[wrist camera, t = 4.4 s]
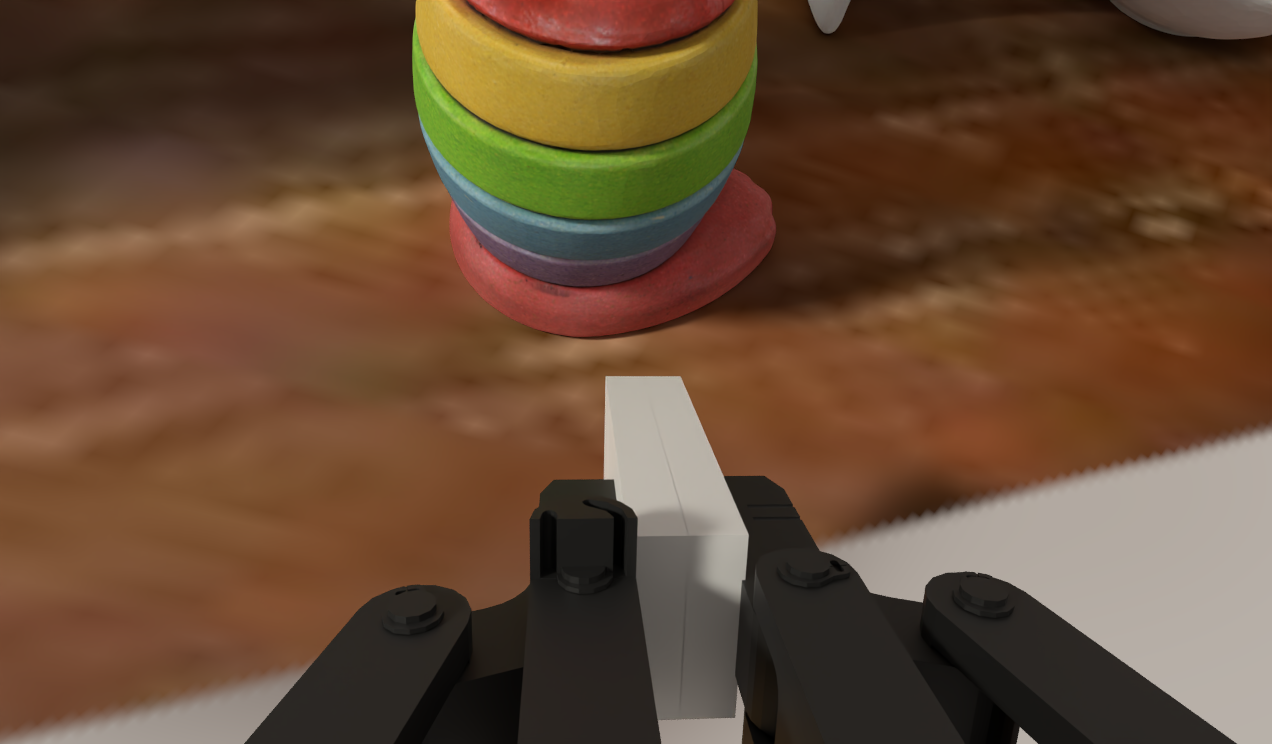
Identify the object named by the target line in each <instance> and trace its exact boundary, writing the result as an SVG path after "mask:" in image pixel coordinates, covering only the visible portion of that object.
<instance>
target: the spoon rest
mask: <svg viewBox="0 0 1272 744" xmlns="http://www.w3.org/2000/svg"><path fill="white" fill-rule="evenodd" d="M1110 1H1111V2H1112V3H1113V4H1114V5H1115V6H1116V7H1117V8H1118V9H1119V10H1121V11H1122V12H1123V13H1125V14H1126V15H1128V16H1129V17H1131V18H1132V19H1134V20H1136V21H1138V22H1139V23H1141V24H1143V25H1146V26H1148V27H1150V28H1153V29H1156V30H1159V31H1162V32H1165V33H1169V34H1173V35H1179V36H1187V37H1203V38H1211V39H1247V38H1257V37H1263V36H1269V35H1272V0H1110ZM808 2H809V5H810V8H811V11H812V14H813V16H814V19H815V21H816V23H817V25H818V27H819V28H820V29H821V31H822V32H824V33H828V34H829V33H832V32H834V31H835V30H836V29H837V28H838V26H839V25H840V23H841V21H842V19H843V17H844V14H845V12H846V9H847V7H848V5H849V3H850V0H808Z"/></svg>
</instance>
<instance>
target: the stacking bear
mask: <svg viewBox="0 0 1272 744" xmlns="http://www.w3.org/2000/svg"><path fill="white" fill-rule="evenodd" d="M757 15H758V0H416V19H415V23H414V30H413V50H412V62H413V84H414V95H415V101H416V106H417V110H418V113H419V120H420V125H421V129H422V133H423V136H424V139H425V142H426V144H427V147H428V149H429V152H430V155H431V157H432V160H433V162H434V165H435V167H436V169H437V171H438V173H439V176H440V178H441V180H442V182H443V184H444V185H445V187H446V188H447V190H448V192H449V193H450V195H451V198H452V203H451V209H450V237H451V243H452V247H453V251H454V255H455V258H456V260H457V262H458V265H459V267H460V269H461V271H462V273H463V274H464V276H465V277H466V279H467V280H468V282H469V283H470V285H471V286H472V287H473V288H474V289H475V290H476V292H477V293H478V294H479V295H480V296H481V297H482V298H483V299H484V300H485V301H486V302H488V303H489V304H490V305H491V306H493V307H494V308H496V309H497V310H498V311H500V312H501V313H503V314H505V315H506V316H508V317H509V318H511V319H513V320H515V321H517V322H520V323H522V324H524V325H526V326H529V327H532V328H534V329H537V330H541V331H545V332H549V333H553V334H559V335H565V336H574V337H589V336H603V335H611V334H618V333H624V332H629V331H634V330H639V329H643V328H647V327H651V326H654V325H658V324H661V323H664V322H667V321H670V320H673V319H676V318H678V317H680V316H683V315H685V314H688V313H690V312H692V311H695V310H697V309H699V308H701V307H703V306H705V305H706V304H708V303H710V302H712V301H713V300H715V299H717V298H719V297H720V296H722V295H723V294H724V293H726V292H727V291H729V290H730V289H732V288H733V287H734V286H736V285H737V284H738V283H739V282H741V281H742V280H743V279H744V278H745V277H746V276H747V275H749V274H750V273H751V272H752V271H753V270H754V269H755V268H756V267H757V266H758V265H759V264H760V263H761V261H762V260H763V259H764V258H765V256H766V255H767V254H768V252H769V251H770V249H771V247H772V245H773V242H774V238H775V235H776V224H775V220H774V218H773V215H772V201H771V198H770V196H769V195H768V194H767V192H766V191H765V190H764V189H762V188H761V187H759V186H758V185H756V184H755V183H753V181H752V180H751V179H750V178H749V177H748V176H747V175H746V174H744V173H742V172H740V171H738V170H736V169H734V166H735V163H736V161H737V159H738V157H739V154H740V152H741V149H742V147H743V142H744V138H745V136H746V134H747V130H748V127H749V124H750V120H751V113H752V107H753V101H754V95H755V89H756V76H757V63H758V59H757V43H756V39H757Z"/></svg>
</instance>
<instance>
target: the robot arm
mask: <svg viewBox="0 0 1272 744" xmlns="http://www.w3.org/2000/svg"><path fill="white" fill-rule="evenodd" d="M737 685H738V687H739V690H740V693H741V697H742V700H743V703H744V707H745V710H744V723H743V735H742V744H1016V743H1017V738H1018V733H1019V728H1020V727H1021V728H1022V729H1023V730H1024V731H1025V732H1026V733H1027V734H1028V735H1029V736H1031V737H1032V738H1033V739H1034V740H1035V741H1036V742H1037V743H1038V744H1236V743H1235V742H1234V741H1232V740H1231V739H1229V738H1228V737H1227V736H1225V735H1224V734H1223V733H1221V732H1220V731H1218V730H1217V729H1216V728H1214V727H1213V726H1211V725H1210V724H1209V723H1207V722H1206V721H1204V720H1203V719H1202V718H1200V717H1199V716H1198V715H1196V714H1195V713H1193V712H1192V711H1191V710H1189V709H1188V708H1186V707H1185V706H1184V705H1182V704H1181V703H1179V702H1178V701H1177V700H1175V699H1174V698H1172V697H1171V696H1170V695H1168V694H1167V693H1165V692H1164V691H1162V690H1161V689H1160V688H1158V687H1157V686H1156V685H1154V684H1153V683H1151V682H1150V681H1149V680H1147V679H1146V678H1145V677H1143V676H1142V675H1140V674H1139V673H1138V672H1136V671H1135V670H1133V669H1132V668H1131V667H1129V666H1128V665H1126V664H1125V663H1124V662H1122V661H1121V660H1119V659H1118V658H1117V657H1115V656H1114V655H1112V654H1111V653H1110V652H1108V651H1107V650H1105V649H1104V648H1103V647H1101V646H1100V645H1098V644H1097V643H1096V642H1094V641H1093V640H1091V639H1090V638H1089V637H1087V636H1086V635H1084V634H1083V633H1082V632H1080V631H1079V630H1077V629H1076V628H1075V627H1073V626H1072V625H1071V624H1069V623H1068V622H1066V621H1065V620H1064V619H1062V618H1061V617H1059V616H1058V615H1056V614H1055V613H1054V612H1052V611H1051V610H1050V609H1048V608H1047V607H1045V606H1044V605H1042V604H1041V603H1040V602H1038V601H1037V600H1036V599H1034V598H1033V597H1031V596H1030V595H1028V594H1027V593H1026V592H1024V591H1022V590H1021V589H1019V588H1017V587H1015V586H1013V585H1012V584H1010V583H1008V582H1005V581H1002V580H999V579H996V578H993V577H992V576H990V575H987V574H982V573H978V574H976V573H975V572H957V573H945V574H942V575H939V576H936V577H933V578H932V579H931V580H930V581H929V583H928V584H927V585H926V587H925V594H924V600H923V603H922V602H916V601H910V600H904V599H897V598H891V597H886V596H882V595H877V594H873V593H870V592H869V590H868V589H867V587H866V586H865V584H864V582H863V581H862V579H861V578H860V576H859V574H858V573H857V572H856V571H855V570H854V569H853V568H852V567H851V566H850V565H849V564H848V563H847V562H845V561H843V560H841V559H840V558H838V557H836V556H834V555H832V554H828V553H825V552H821V551H819V549H818V547H817V546H816V544H815V542H814V540H813V539H812V537H811V535H810V533H809V532H808V530H807V528H806V527H805V525H804V523H803V521H802V520H800V516H799V514H798V513H797V511H796V509H795V508H794V507H793V504H792V502H791V501H790V499H789V497H788V495H787V494H786V492H785V490H784V489H783V488H781V487H780V486H778V485H777V484H775V483H774V482H772V481H771V480H769V479H768V478H766V477H765V476H723V474H722V472H721V470H720V467H719V465H718V463H717V460H716V458H715V456H714V453H713V451H712V449H711V446H710V444H709V442H708V439H707V437H706V435H705V432H704V430H703V428H702V425H701V423H700V421H699V418H698V416H697V414H696V412H695V409H694V407H693V405H692V402H691V400H690V398H689V395H688V393H687V391H686V388H685V386H684V384H683V381H682V379H681V377H680V376H606V385H605V444H604V479H598V480H553V481H552V482H551V483H550V484H549V485H548V486H547V487H546V488H545V489H544V490H543V491H542V492H541V493H540V504H539V507H538V508H537V509H535V510H534V512H533V514H532V516H531V518H530V585H529V586H528V587H527V588H526V590H525V591H523V592H522V593H521V594H519V595H518V596H517V597H515V598H513V599H511V600H509V601H507V602H505V603H502V604H499V605H496V606H493V607H489V608H485V609H481V610H476V611H472V612H471V608H470V606H469V603H468V601H467V599H466V598H465V597H464V596H462V595H461V594H459V593H458V592H456V591H454V590H452V589H448V588H444V587H440V586H436V585H410V586H407V587H405V586H404V587H400V588H396V589H393V590H390V591H388V592H386V593H383V594H381V595H379V596H376V597H374V598H372V599H371V600H370V601H369V602H367V603H366V604H365V605H364V606H362V607H361V608H360V609H359V610H358V611H357V612H356V613H355V614H354V616H353V617H352V618H351V619H350V620H349V622H348V623H347V624H346V625H345V626H344V627H343V629H342V630H341V631H340V632H339V633H338V634H337V636H336V637H335V638H334V639H333V640H332V641H331V643H330V644H329V645H328V646H327V647H326V648H325V650H324V651H323V652H322V653H321V654H320V655H319V657H318V658H317V659H316V660H315V661H314V663H313V664H312V665H311V666H310V667H309V668H308V670H307V671H306V672H305V673H304V674H303V675H302V677H301V678H300V679H299V680H298V681H297V682H296V684H295V685H294V686H293V688H291V689H290V691H289V692H288V693H287V694H286V695H285V697H284V698H283V699H282V700H281V701H280V702H279V704H278V705H277V706H276V707H275V708H274V709H273V711H272V712H271V713H270V714H269V715H268V716H267V718H266V719H265V720H264V721H263V722H262V723H261V725H260V726H259V727H258V728H257V729H256V730H255V732H254V733H253V734H252V735H251V736H250V738H249V739H248V740H247V741H246V742H245V743H244V744H661V739H660V732H659V726H658V720H675V719H704V718H735V710H736V697H737Z"/></svg>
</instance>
